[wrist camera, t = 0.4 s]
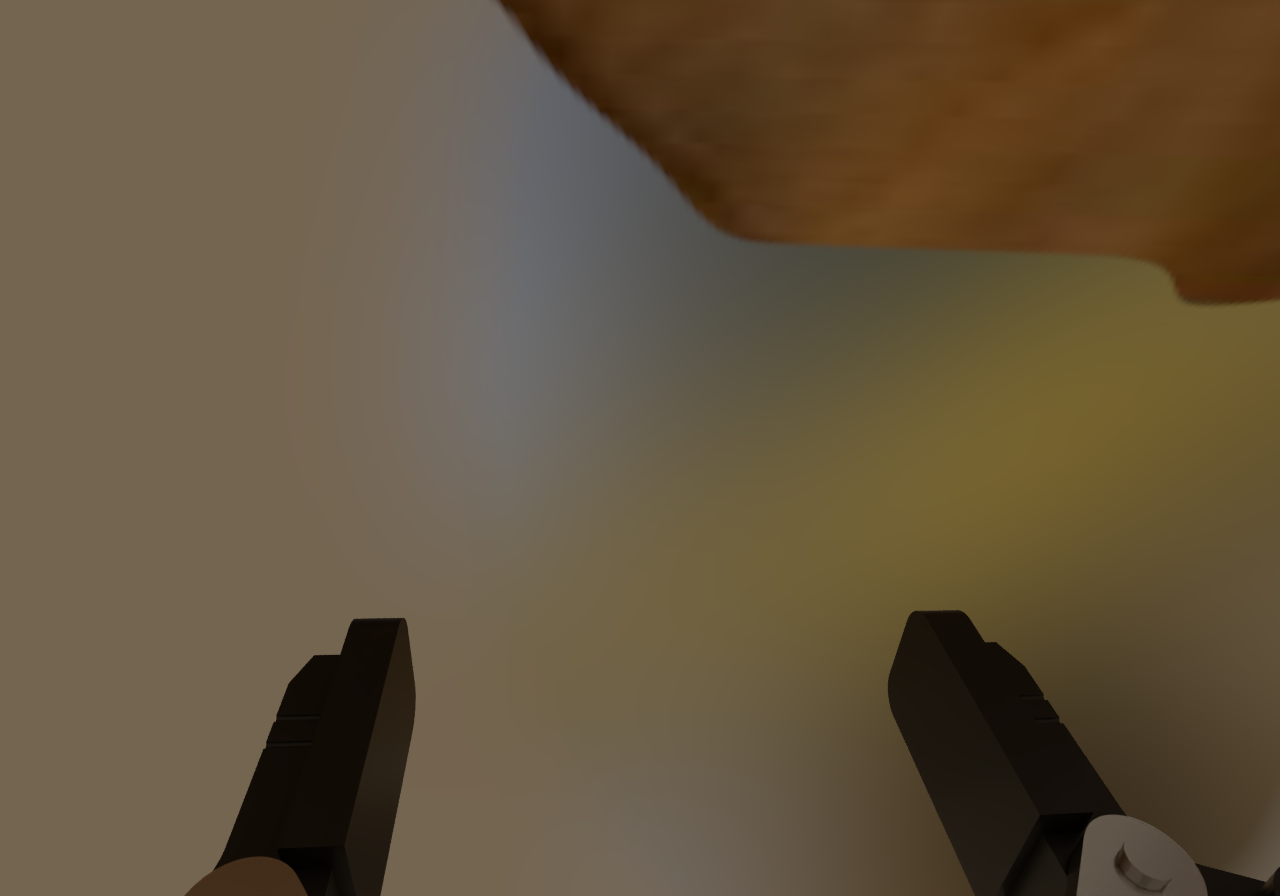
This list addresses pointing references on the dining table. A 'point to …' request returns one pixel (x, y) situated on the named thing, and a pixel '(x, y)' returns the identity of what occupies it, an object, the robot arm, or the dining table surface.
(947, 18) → the dining table surface
